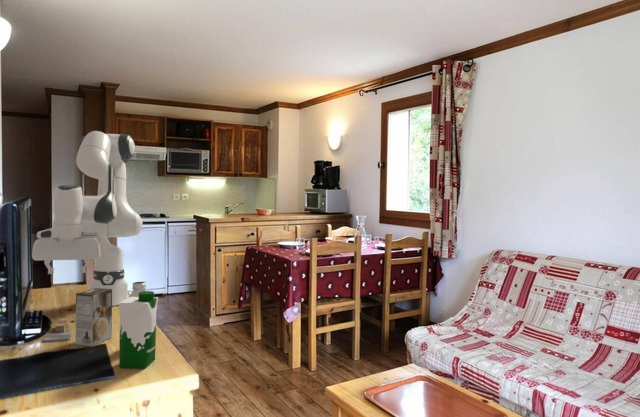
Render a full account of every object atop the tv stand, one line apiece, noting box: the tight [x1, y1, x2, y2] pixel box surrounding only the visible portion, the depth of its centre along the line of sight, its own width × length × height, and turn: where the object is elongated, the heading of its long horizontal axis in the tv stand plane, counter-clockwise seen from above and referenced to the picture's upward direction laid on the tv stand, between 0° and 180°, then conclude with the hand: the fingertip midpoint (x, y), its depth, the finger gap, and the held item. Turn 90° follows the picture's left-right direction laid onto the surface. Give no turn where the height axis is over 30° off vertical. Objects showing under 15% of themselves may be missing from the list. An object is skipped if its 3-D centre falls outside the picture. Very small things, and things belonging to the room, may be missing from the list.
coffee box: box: [75, 288, 113, 347], centre depth 143 cm, size 9×6×16 cm
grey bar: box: [42, 317, 73, 343], centre depth 150 cm, size 17×7×3 cm, turn 22°
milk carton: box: [118, 290, 159, 370], centre depth 125 cm, size 9×9×20 cm
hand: (66, 273), depth 153 cm, fingers open, 8 cm apart
